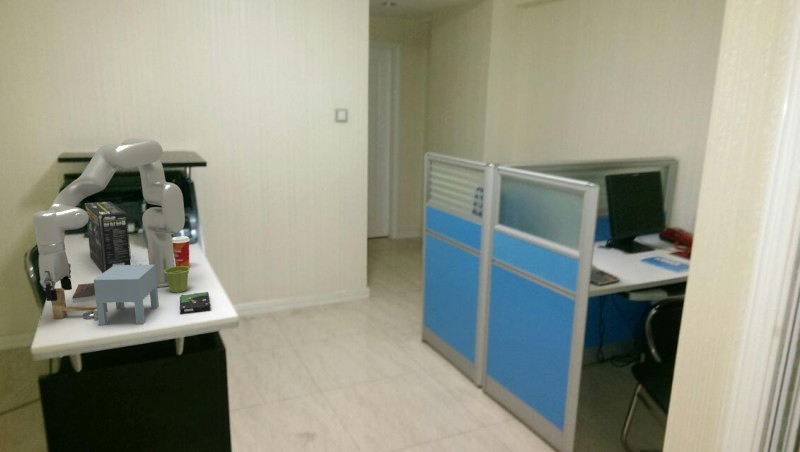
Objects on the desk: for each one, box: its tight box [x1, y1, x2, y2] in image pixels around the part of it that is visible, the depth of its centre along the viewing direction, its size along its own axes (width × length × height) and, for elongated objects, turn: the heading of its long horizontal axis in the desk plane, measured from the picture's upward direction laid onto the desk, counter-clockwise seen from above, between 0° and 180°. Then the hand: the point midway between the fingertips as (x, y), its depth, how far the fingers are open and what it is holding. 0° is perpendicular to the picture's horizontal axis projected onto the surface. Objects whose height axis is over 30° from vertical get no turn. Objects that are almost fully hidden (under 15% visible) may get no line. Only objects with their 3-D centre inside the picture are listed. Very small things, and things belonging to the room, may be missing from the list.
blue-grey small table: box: [93, 264, 160, 326], centre depth 181 cm, size 16×15×16 cm
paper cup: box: [172, 235, 191, 268], centre depth 234 cm, size 8×8×14 cm
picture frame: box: [71, 282, 96, 303], centre depth 205 cm, size 16×2×22 cm
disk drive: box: [179, 291, 211, 315], centre depth 193 cm, size 10×3×15 cm
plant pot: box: [164, 266, 190, 294], centre depth 207 cm, size 9×9×9 cm
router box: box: [84, 201, 132, 274], centre depth 236 cm, size 36×11×27 cm, turn 39°
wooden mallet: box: [50, 287, 108, 322], centre depth 180 cm, size 8×15×10 cm, turn 96°
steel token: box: [82, 310, 94, 320], centre depth 181 cm, size 5×5×2 cm
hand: (59, 295), depth 179 cm, fingers open, 9 cm apart
